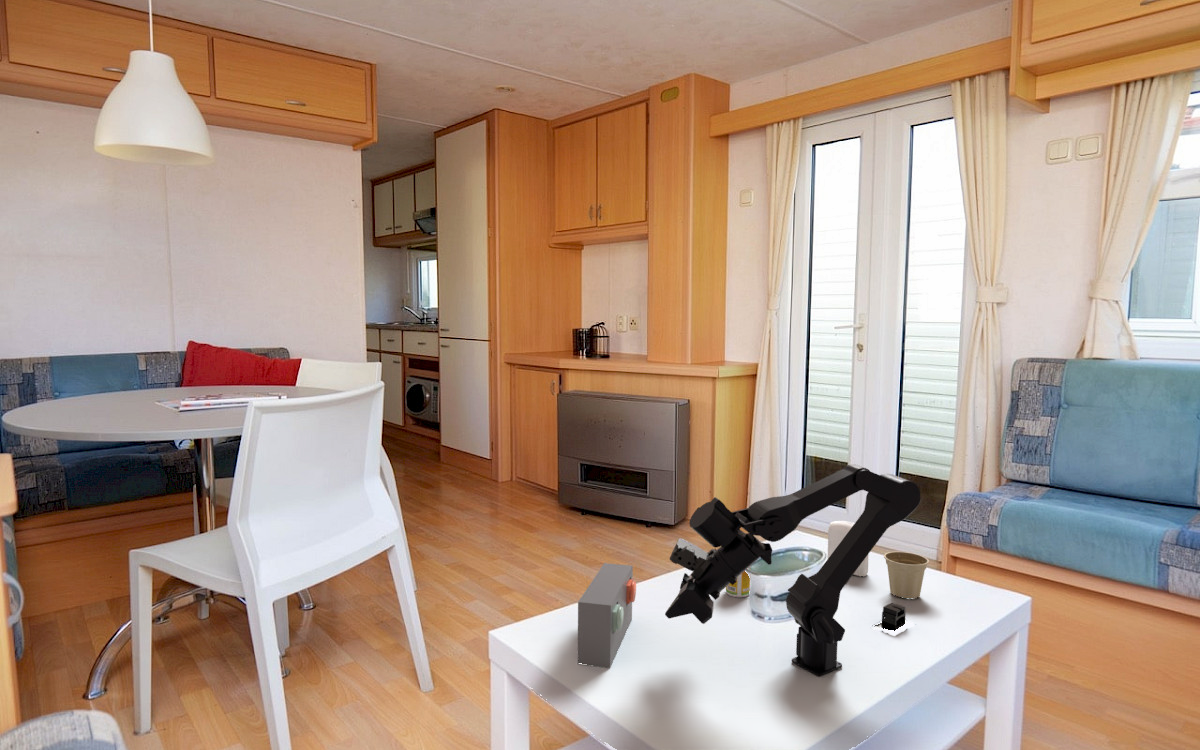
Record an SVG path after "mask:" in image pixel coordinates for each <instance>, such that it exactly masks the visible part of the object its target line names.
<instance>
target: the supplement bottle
mask: <svg viewBox="0 0 1200 750" xmlns="http://www.w3.org/2000/svg"><path fill="white" fill-rule="evenodd" d="M749 591H751V577H750V578H749V576H748V574H747V573H746V572H745V571H744V572H743V573H742V574H740V575H739V576H738V577H737V582H736V583H734V584H733V585H732V584H731V583H730V584H729V585H728V586H727V587H725V593H726V594H727V595H728V596H730V597H733V598H746V597H749V596H750V594H749Z"/></svg>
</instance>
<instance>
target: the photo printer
mask: <svg viewBox="0 0 1200 750" xmlns="http://www.w3.org/2000/svg"><path fill="white" fill-rule="evenodd" d="M854 524H855V523H854V522H851V521H848V520H834V521H831V522H830V524H828V525H829V526H828V530H827V559H828V558H829V557H830V556H831V554H832V553H833V552H834V550H835V549H836V548H837V546H838V545H839V544H840V542H841V541H842V540H843V538H844V537H845V536H846V534H847V533H848V532H849V530H850V529H851V528H852V526H853V525H854ZM868 573H869V554H868V555H867V557H866V558H865V559H864V561H863V562H862V563H861V565H860V566H859V567H858V569H857V570H856V571H855V573H854V574H853V575H854V576H857V577H861V576H863V577H866V576H868Z"/></svg>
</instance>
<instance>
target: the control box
mask: <svg viewBox="0 0 1200 750" xmlns="http://www.w3.org/2000/svg"><path fill="white" fill-rule="evenodd" d="M633 568H634V567H633V565H630V564H618V563H610V562H609V563H606V562H604V563H603V565H602V566H601V567H600V569H599V570H598V572H597V573H596V574H595V576H594V577H593V579H592V581H591V582H590V584H589V585H588V587H587V588H586V590H585V591H584V593H583V594H582V595H581V597H580V598H579V600H578V603H577V606H578V607H577V664H578V663H582V664H587V665H586V666H589V665H593V666H592V667H597V666H599V667H598V668H606V669H611V668H612V665H613V662H614V661H615V658H616V656H617V654H618V652H619V650H618V649H620V648H621V645H622V643H623V641H622V640H624V639H625V636H626V634H627V632H626V631H628V630H629V627H630V625H631V623H632V621H633V602H630V604H628V603H626V602H627V583H628V581H629V579H632V580H633V581H634V578H633V575H634V574H633V572H634V570H633ZM616 604H620V607H623V611H624V616H623V624H622V628H621V630H617V631H616V632H615V631H613V609H614V607H615V605H616ZM627 629H628V630H627ZM625 633H626V634H625ZM621 642H622V643H621ZM617 651H618V652H617ZM613 660H614V661H613Z"/></svg>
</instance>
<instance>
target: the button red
mask: <svg viewBox="0 0 1200 750" xmlns="http://www.w3.org/2000/svg"><path fill="white" fill-rule="evenodd" d="M636 593H637V583H636V581H635V580H634V579H633V580H632V579H629V581H628V583H627V602H626V603H628V604H630V602H632V603H635V600H636V595H637V594H636Z"/></svg>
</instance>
